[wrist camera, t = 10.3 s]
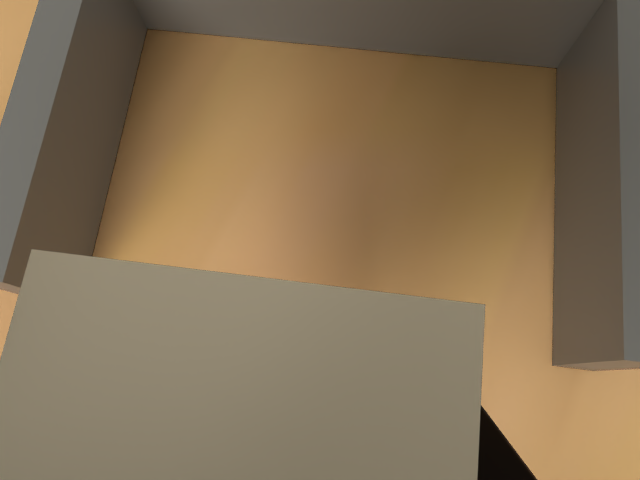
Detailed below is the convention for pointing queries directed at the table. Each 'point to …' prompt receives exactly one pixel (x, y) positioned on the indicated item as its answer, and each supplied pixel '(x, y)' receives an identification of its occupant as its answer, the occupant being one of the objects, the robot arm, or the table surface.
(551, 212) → the table surface
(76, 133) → the open-front crate
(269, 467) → the cream block
